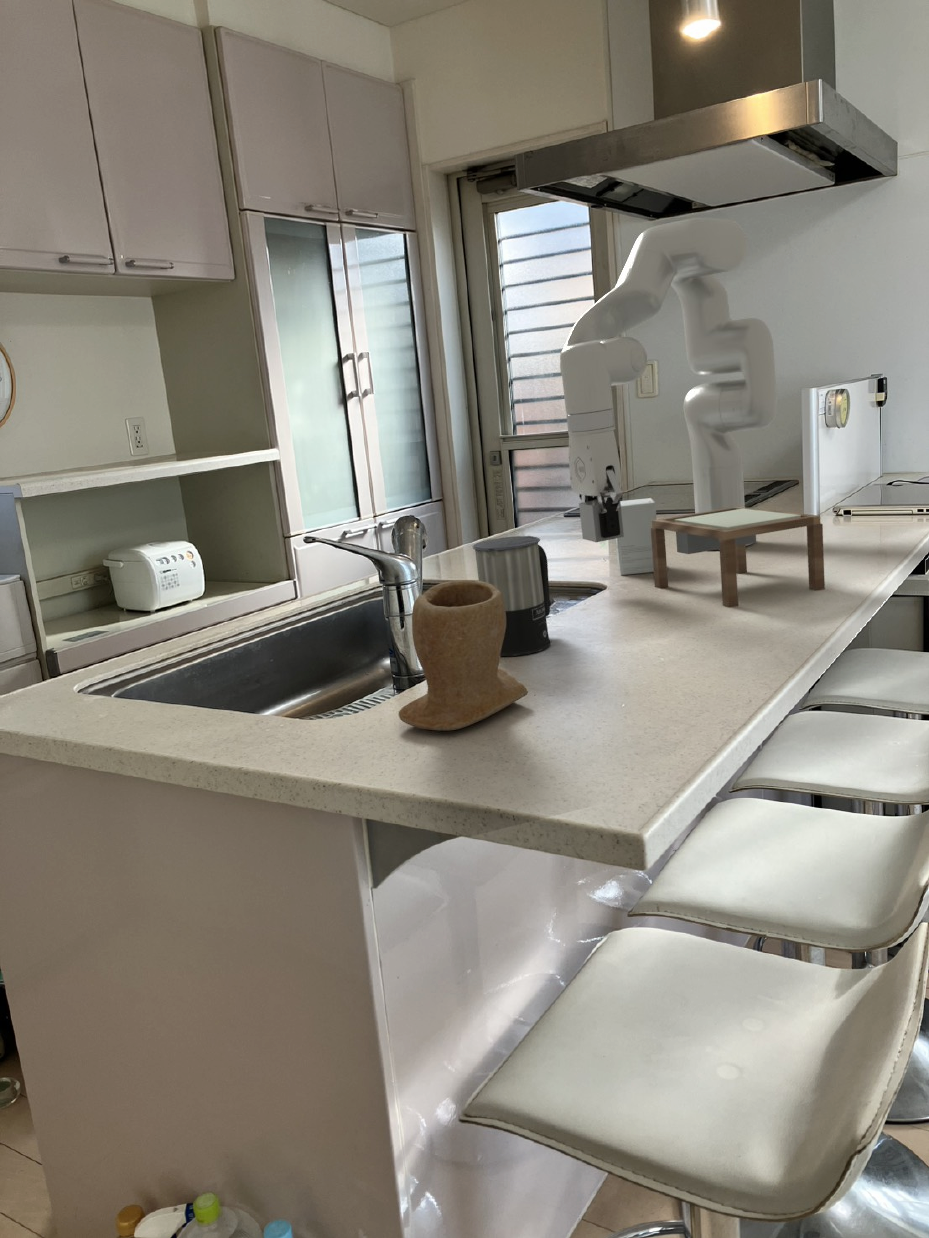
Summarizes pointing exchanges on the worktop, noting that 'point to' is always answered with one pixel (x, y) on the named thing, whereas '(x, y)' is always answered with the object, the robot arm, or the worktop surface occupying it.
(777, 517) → the trapdoor
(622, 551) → the supplement box
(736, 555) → the frame
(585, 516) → the grey near-cubic block
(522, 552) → the milk frother
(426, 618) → the stone cup
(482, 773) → the worktop surface
